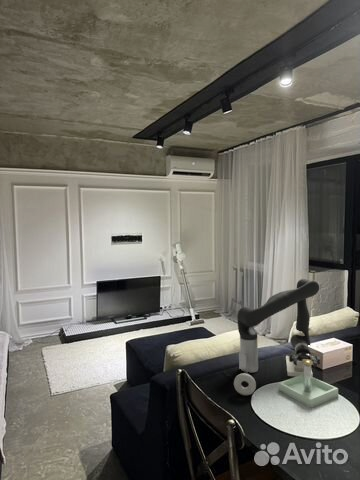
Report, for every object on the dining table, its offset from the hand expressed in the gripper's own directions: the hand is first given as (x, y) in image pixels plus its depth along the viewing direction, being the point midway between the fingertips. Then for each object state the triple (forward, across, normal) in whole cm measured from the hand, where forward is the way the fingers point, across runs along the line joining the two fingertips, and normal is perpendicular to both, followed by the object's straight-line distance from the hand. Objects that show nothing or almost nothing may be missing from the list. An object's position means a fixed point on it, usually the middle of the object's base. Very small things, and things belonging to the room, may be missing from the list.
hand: (305, 364), depth 157 cm
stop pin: (+8, 0, +9) cm, 12 cm away
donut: (+16, -27, +10) cm, 33 cm away
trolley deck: (-19, -2, +10) cm, 22 cm away
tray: (+8, 0, +10) cm, 13 cm away
